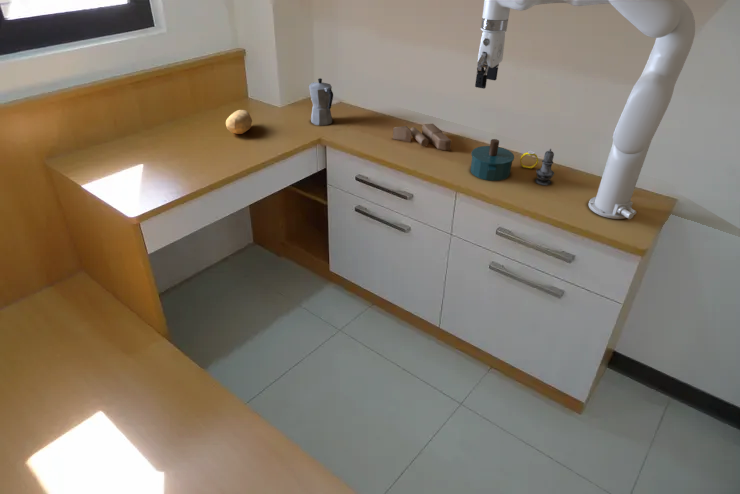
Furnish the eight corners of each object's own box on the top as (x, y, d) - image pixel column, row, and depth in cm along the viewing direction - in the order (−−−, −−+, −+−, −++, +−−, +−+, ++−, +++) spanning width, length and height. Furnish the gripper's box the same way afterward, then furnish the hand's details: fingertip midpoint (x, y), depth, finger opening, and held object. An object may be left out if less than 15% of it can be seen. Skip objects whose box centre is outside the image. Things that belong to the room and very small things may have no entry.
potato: (256, 125, 211) (254, 106, 206) (248, 139, 199) (246, 119, 195) (233, 124, 211) (230, 105, 207) (223, 138, 200) (220, 118, 195)
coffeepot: (303, 119, 217) (301, 76, 207) (322, 114, 222) (321, 72, 212) (323, 130, 207) (321, 86, 197) (342, 125, 212) (342, 82, 202)
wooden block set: (432, 119, 204) (452, 136, 190) (431, 133, 207) (450, 151, 193) (392, 124, 199) (410, 142, 185) (391, 137, 202) (409, 156, 188)
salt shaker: (552, 186, 171) (560, 153, 164) (534, 184, 172) (541, 151, 165) (551, 178, 175) (559, 145, 169) (533, 176, 176) (540, 144, 170)
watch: (518, 168, 182) (522, 152, 178) (518, 165, 184) (521, 149, 180) (536, 170, 181) (539, 154, 177) (535, 166, 183) (539, 151, 179)
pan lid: (512, 151, 181) (516, 134, 177) (514, 168, 169) (517, 151, 166) (471, 147, 183) (473, 130, 179) (470, 164, 171) (472, 147, 168)
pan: (508, 162, 186) (511, 146, 182) (510, 186, 170) (513, 169, 167) (471, 158, 188) (473, 143, 184) (469, 182, 172) (472, 165, 169)
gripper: (496, 32, 142) (487, 93, 152) (515, 21, 155) (506, 78, 164) (471, 28, 145) (464, 88, 155) (492, 18, 158) (484, 74, 167)
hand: (485, 83), depth 160 cm, fingers open, 9 cm apart
